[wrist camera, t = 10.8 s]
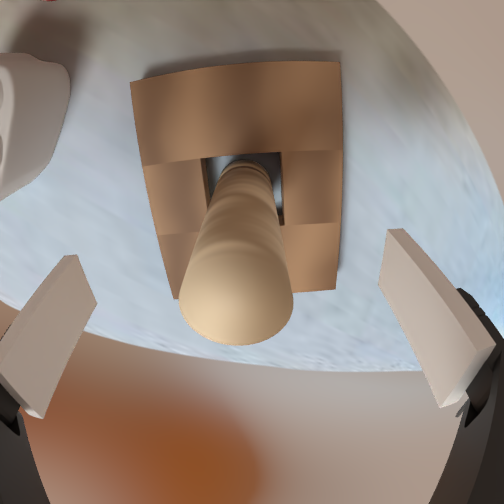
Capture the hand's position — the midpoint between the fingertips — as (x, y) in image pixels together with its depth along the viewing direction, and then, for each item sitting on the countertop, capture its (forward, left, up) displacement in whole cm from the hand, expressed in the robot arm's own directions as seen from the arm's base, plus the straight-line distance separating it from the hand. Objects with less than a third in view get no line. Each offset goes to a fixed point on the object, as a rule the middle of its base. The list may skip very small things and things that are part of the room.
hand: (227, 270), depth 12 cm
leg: (0, 0, -12) cm, 12 cm away
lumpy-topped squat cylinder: (-19, +9, -12) cm, 25 cm away
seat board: (0, 0, -12) cm, 12 cm away
